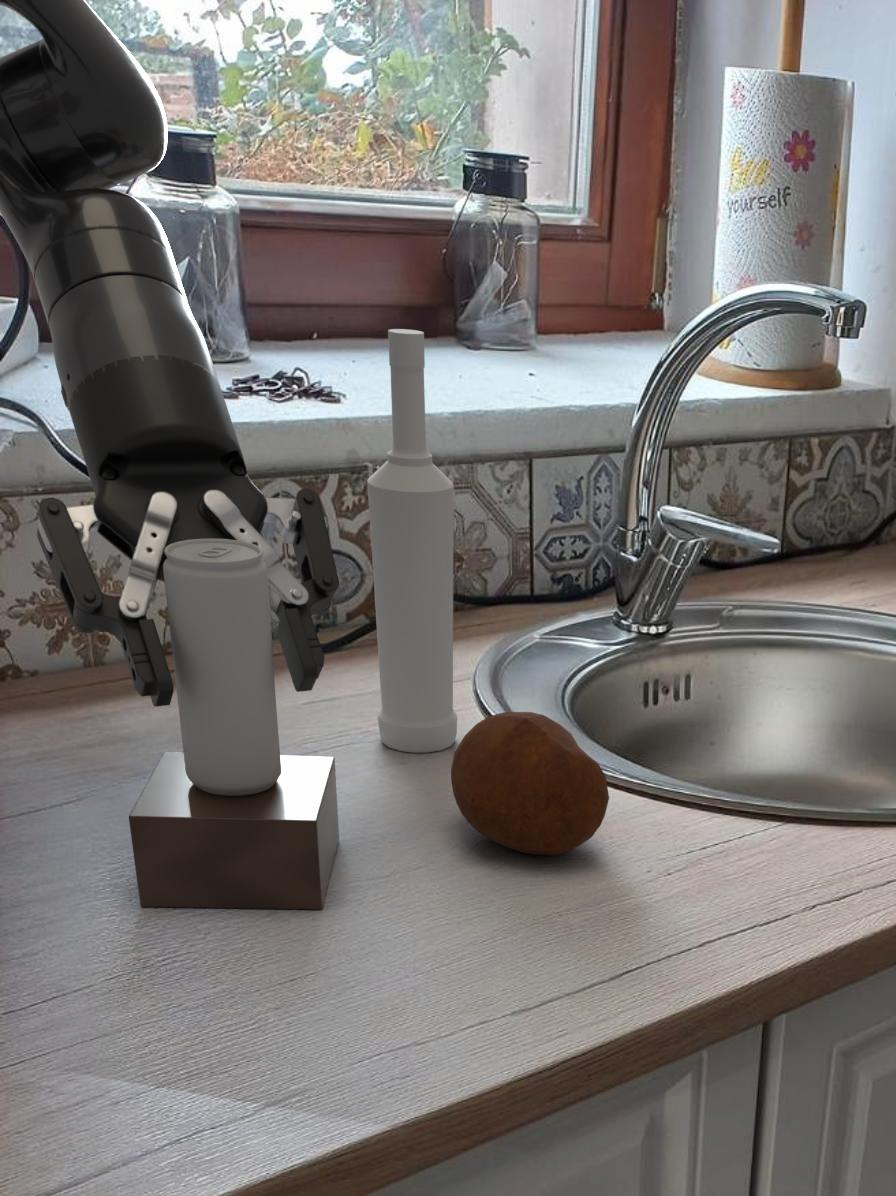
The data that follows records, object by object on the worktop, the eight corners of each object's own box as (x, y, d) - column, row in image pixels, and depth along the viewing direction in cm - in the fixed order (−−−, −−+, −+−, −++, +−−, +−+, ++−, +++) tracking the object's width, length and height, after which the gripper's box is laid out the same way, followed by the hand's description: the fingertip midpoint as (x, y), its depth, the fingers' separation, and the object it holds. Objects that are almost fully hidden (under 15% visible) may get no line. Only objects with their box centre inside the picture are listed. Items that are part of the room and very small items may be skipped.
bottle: (471, 735, 103) (467, 333, 91) (433, 759, 99) (422, 340, 86) (404, 721, 104) (390, 322, 92) (362, 744, 100) (342, 329, 88)
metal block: (140, 907, 78) (128, 816, 75) (173, 835, 86) (163, 750, 83) (322, 910, 79) (316, 821, 77) (339, 839, 87) (334, 756, 85)
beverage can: (169, 791, 78) (141, 554, 72) (214, 759, 83) (191, 533, 77) (258, 804, 78) (237, 567, 72) (299, 772, 82) (283, 545, 76)
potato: (547, 891, 84) (549, 761, 80) (406, 834, 88) (402, 710, 85) (643, 846, 90) (649, 724, 86) (506, 795, 95) (506, 678, 91)
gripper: (-5, 348, 71) (92, 670, 69) (298, 351, 79) (394, 641, 77) (-10, 445, 78) (79, 742, 75) (271, 439, 85) (360, 710, 83)
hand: (238, 690), depth 76 cm, fingers open, 6 cm apart
